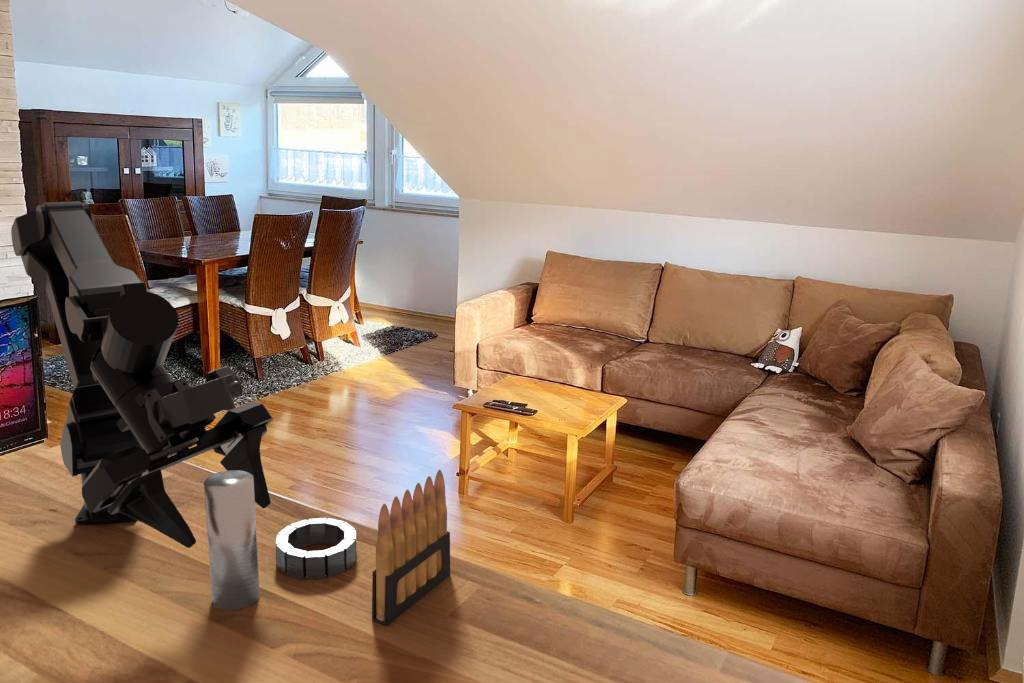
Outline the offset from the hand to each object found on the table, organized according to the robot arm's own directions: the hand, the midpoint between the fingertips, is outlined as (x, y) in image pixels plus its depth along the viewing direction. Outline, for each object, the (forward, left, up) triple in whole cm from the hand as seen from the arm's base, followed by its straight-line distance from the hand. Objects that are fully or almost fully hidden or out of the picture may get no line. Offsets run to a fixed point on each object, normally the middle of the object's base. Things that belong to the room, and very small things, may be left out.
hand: (231, 524), depth 81 cm
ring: (-7, +8, -8) cm, 13 cm away
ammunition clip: (+2, +17, -8) cm, 19 cm away
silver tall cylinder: (0, 0, -8) cm, 8 cm away
